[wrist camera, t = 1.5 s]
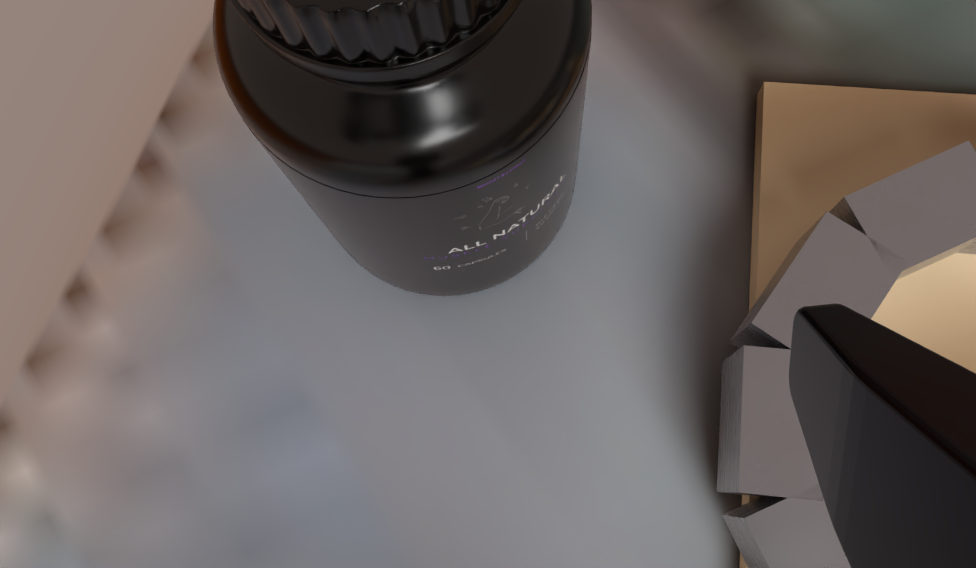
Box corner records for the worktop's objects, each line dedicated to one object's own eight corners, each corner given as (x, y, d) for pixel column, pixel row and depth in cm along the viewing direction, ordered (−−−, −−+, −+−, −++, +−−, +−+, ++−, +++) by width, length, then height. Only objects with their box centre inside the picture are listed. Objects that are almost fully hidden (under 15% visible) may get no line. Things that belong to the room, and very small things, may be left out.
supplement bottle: (527, 337, 22) (497, 164, 10) (288, 253, 23) (14, 7, 11) (612, 104, 23) (672, -284, 12) (384, 34, 24) (227, -387, 13)
